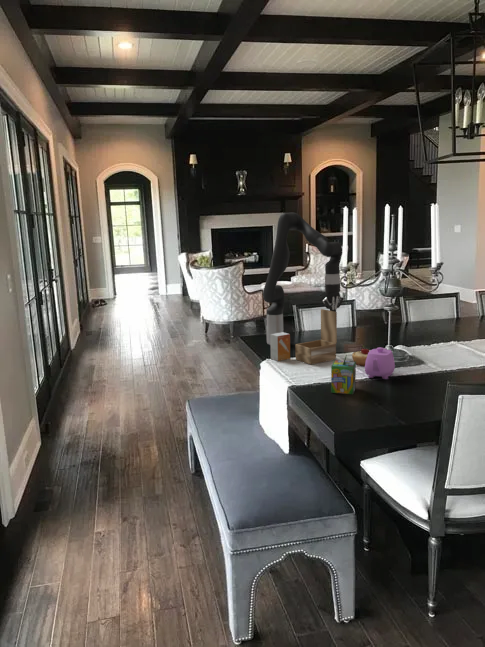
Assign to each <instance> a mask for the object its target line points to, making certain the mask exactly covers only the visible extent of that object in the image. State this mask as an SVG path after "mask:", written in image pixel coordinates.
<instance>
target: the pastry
mask: <svg viewBox="0 0 485 647" xmlns="http://www.w3.org/2000/svg"><path fill="white" fill-rule="evenodd" d="M362 347H363V348H361V349H360V350H359V351H354V352H353V353H352V355H351V358H352V361H356V366H362V367H365V362H366V358H367V355H368V353H369V351H370V349H369V348H366V346H365V345H362Z"/></svg>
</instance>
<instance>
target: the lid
mask: <svg viewBox="0 0 485 647" xmlns="http://www.w3.org/2000/svg"><path fill="white" fill-rule="evenodd" d="M337 314H338V313H337V311H336V312H334V311H330V309H323V308H321V309H320V340H324V341H327V342H331V343H335V344H337V343H338V342H337V339H338V336H337V335H338V328H337V324H338V323H337V321H338V316H337Z"/></svg>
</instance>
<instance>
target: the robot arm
mask: <svg viewBox="0 0 485 647" xmlns="http://www.w3.org/2000/svg"><path fill="white" fill-rule="evenodd" d="M290 231H298V232H300V234H302V235H303V236H304V238H305V240H306V241H307V242H308V243H310V244H311V245H312V246H314V248H316V249H317V250H318V252H320V254H321V255H322V256H324V257H326V258H329V261H327V262H326V263H325V264H324V265H325V266H324V271H325V272H324V273H325V274H324V292H325V296H324V297H325V298H324V299H322V300H321V303H322V304H323V305H324V307H325V308H326V310H329V311H334V312H337V309H339V308H340V307H341V305H342V303H343V301H344V299H345V297H342V295H341V293H340V292H341V275H340V273H341V272H340V269H341V268H340V264H341V260H342V255H343V246H342V244H341V243H340V242H339V241H328V238H327V237H326V236H325V235H324V234H322V233H321V232H320V231H318V230H316V229H315V228H314V227H312V226H311V225H310V224H309V223H308V222H307V221H306V220H305V219H304V218H303V217H302V216H301V215H300V214H299V213H296V212H294V211H293V212H283V213H281V214H280V215H279V217H278V220H277V226H276V236H275V237H276V238H275V243H274V247H273V251H272V257H271V261H270V265H269V266H270V267H269V270H268V274H267V278H266V281H265V284H264V287H263V291H262V299H263V301H264V302H265V303H268V304H269V303H271V304H270V306H269V307H268V308H267V309H266V327H265V329H266V330H265V331H266V334H265V335H266V343H267V345H269V346H270V334H275V333H281V332H284V309H285V291H284V288H283V287H282V285H280V284H278V281H279V279H280V278H281V276H282V275H283V274H284V272H285V271H286V269H287V267H288V265H289V261H290V257H291V256H290V255H291V253H290V248H289V245H288V236H289V232H290Z"/></svg>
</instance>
